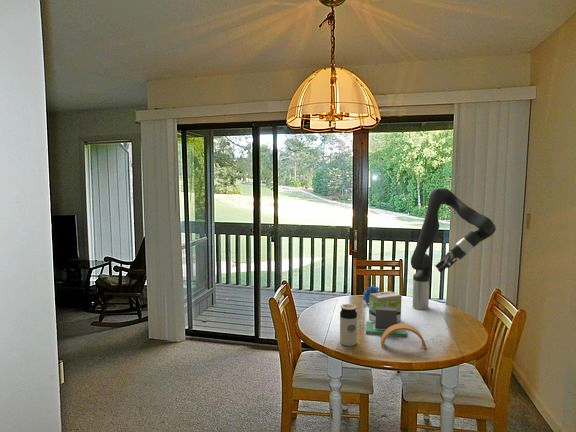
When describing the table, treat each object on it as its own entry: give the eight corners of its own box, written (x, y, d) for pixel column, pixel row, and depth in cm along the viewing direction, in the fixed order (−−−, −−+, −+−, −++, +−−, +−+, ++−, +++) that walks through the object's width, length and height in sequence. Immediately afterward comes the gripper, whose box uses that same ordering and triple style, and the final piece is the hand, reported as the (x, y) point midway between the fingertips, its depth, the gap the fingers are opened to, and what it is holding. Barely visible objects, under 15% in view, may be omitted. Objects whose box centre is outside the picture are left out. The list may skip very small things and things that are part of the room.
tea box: (379, 324, 206) (379, 298, 205) (368, 319, 215) (368, 293, 214) (401, 320, 212) (401, 294, 211) (389, 315, 221) (390, 290, 220)
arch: (380, 342, 183) (380, 322, 182) (424, 345, 179) (424, 324, 179) (381, 347, 177) (381, 326, 177) (426, 350, 174) (426, 329, 173)
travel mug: (339, 339, 187) (339, 303, 185) (355, 339, 186) (355, 303, 185) (340, 346, 179) (341, 308, 177) (357, 346, 178) (358, 309, 177)
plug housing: (375, 325, 201) (375, 306, 201) (396, 326, 199) (396, 307, 198) (375, 328, 197) (375, 309, 196) (396, 329, 194) (396, 310, 193)
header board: (366, 324, 207) (366, 316, 207) (404, 326, 203) (404, 318, 202) (365, 333, 193) (365, 325, 193) (406, 337, 189) (407, 328, 189)
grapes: (376, 300, 248) (376, 282, 247) (381, 304, 242) (381, 285, 241) (359, 302, 245) (360, 284, 244) (364, 305, 239) (364, 286, 238)
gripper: (453, 241, 205) (430, 261, 209) (459, 245, 191) (434, 267, 195) (463, 251, 204) (440, 271, 208) (470, 256, 191) (445, 277, 194)
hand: (437, 269), depth 201 cm, fingers open, 8 cm apart
